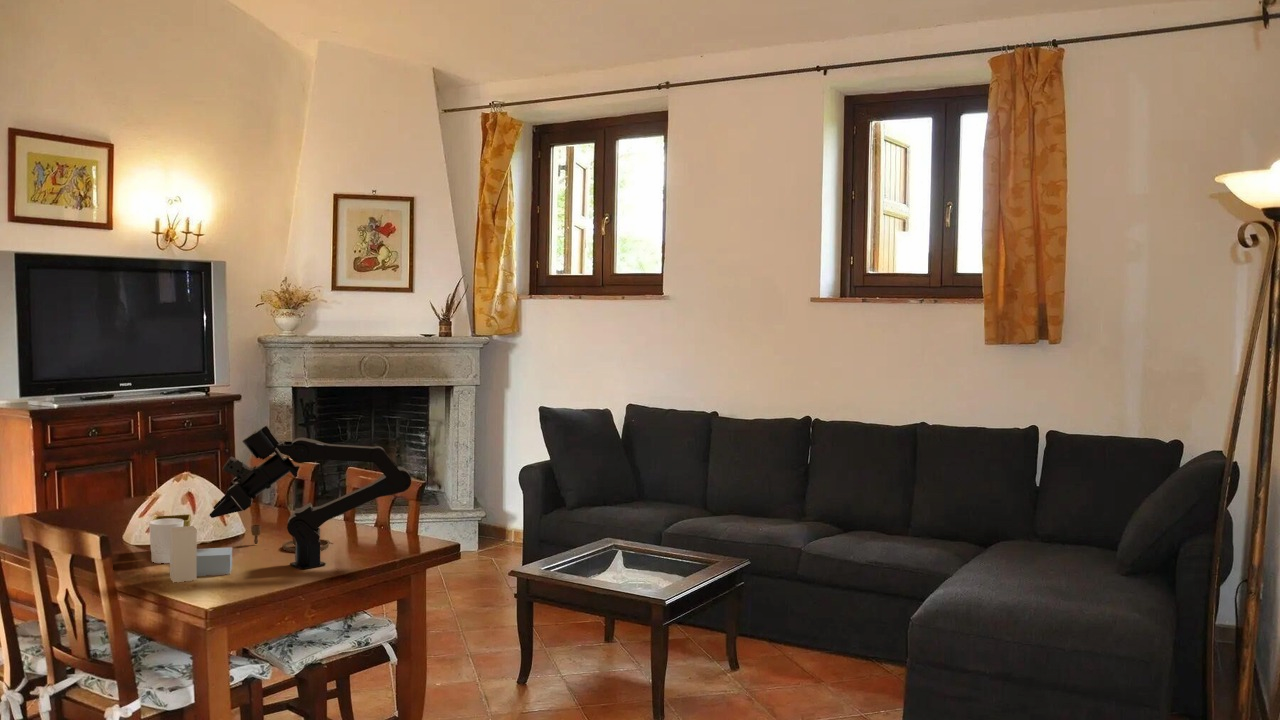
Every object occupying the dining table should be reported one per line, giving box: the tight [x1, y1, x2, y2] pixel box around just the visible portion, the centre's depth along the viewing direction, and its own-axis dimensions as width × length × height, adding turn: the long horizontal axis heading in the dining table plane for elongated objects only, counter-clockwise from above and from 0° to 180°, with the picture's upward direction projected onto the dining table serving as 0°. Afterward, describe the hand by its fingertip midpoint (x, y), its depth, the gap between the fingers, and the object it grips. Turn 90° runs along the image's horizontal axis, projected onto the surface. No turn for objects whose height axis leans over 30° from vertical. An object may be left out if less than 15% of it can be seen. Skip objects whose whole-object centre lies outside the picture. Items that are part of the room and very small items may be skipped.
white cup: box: [148, 518, 184, 564], centre depth 250 cm, size 8×8×10 cm
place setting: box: [250, 524, 334, 553], centre depth 270 cm, size 18×20×6 cm
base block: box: [197, 546, 233, 577], centre depth 241 cm, size 8×8×5 cm
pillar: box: [169, 525, 198, 584], centre depth 233 cm, size 5×5×12 cm
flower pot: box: [152, 513, 192, 527], centre depth 259 cm, size 9×9×9 cm
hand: (212, 512), depth 241 cm, fingers open, 9 cm apart
